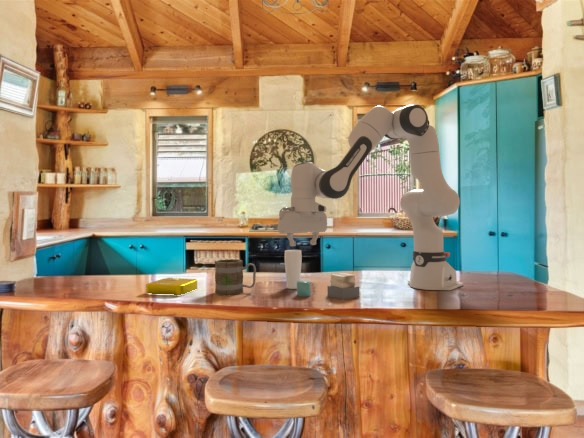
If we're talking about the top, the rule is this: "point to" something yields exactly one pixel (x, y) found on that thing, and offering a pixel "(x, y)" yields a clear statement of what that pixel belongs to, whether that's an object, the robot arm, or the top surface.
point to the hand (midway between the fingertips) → (303, 245)
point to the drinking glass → (293, 267)
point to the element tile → (171, 286)
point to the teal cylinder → (303, 288)
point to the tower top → (342, 280)
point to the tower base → (343, 292)
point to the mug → (231, 277)
